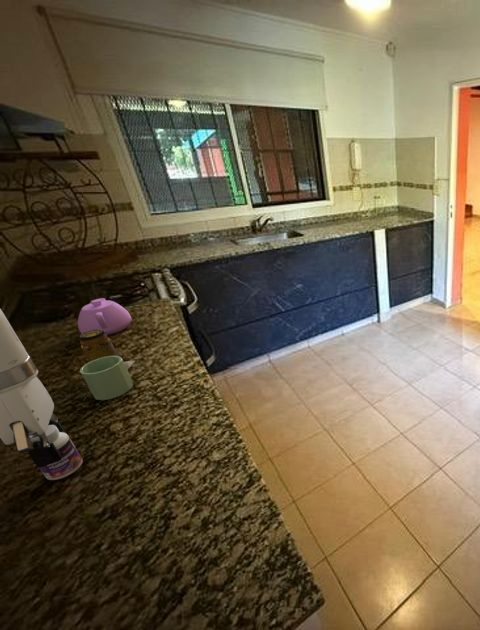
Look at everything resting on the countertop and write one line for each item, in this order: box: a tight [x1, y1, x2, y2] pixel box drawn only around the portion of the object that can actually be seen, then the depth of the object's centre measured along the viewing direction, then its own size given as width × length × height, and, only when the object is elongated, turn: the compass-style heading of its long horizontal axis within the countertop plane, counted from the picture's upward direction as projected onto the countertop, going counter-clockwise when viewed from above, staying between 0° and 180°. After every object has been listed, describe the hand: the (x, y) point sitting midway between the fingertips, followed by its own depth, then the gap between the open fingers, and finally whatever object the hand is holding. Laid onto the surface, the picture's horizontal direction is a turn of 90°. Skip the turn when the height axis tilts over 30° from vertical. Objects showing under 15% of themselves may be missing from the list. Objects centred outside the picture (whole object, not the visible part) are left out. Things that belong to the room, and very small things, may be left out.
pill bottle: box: [29, 425, 84, 481], centre depth 65 cm, size 5×5×10 cm
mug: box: [79, 355, 134, 401], centre depth 87 cm, size 8×8×8 cm
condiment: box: [78, 329, 136, 370], centre depth 94 cm, size 7×8×12 cm
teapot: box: [77, 297, 132, 336], centre depth 117 cm, size 14×20×11 cm
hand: (53, 451), depth 65 cm, fingers closed on pill bottle, 5 cm apart
